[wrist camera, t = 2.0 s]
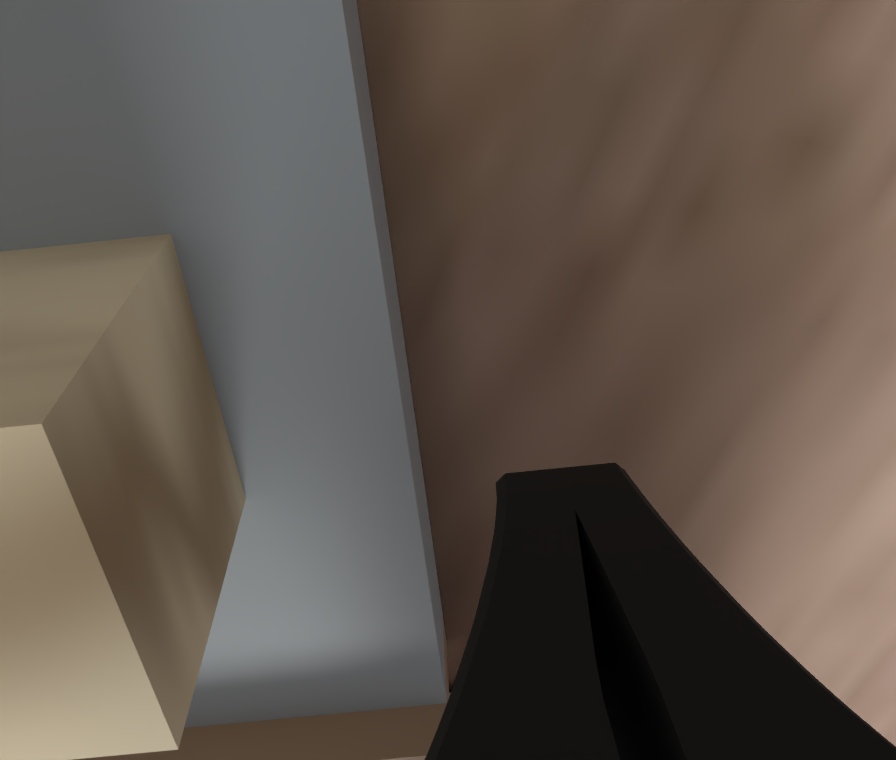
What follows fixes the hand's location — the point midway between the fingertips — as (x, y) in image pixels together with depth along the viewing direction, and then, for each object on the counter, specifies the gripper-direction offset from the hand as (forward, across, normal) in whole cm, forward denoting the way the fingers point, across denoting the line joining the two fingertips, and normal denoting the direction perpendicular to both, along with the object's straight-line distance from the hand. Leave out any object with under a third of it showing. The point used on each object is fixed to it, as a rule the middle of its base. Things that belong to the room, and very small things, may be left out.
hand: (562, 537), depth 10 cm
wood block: (+5, +8, 0) cm, 9 cm away
